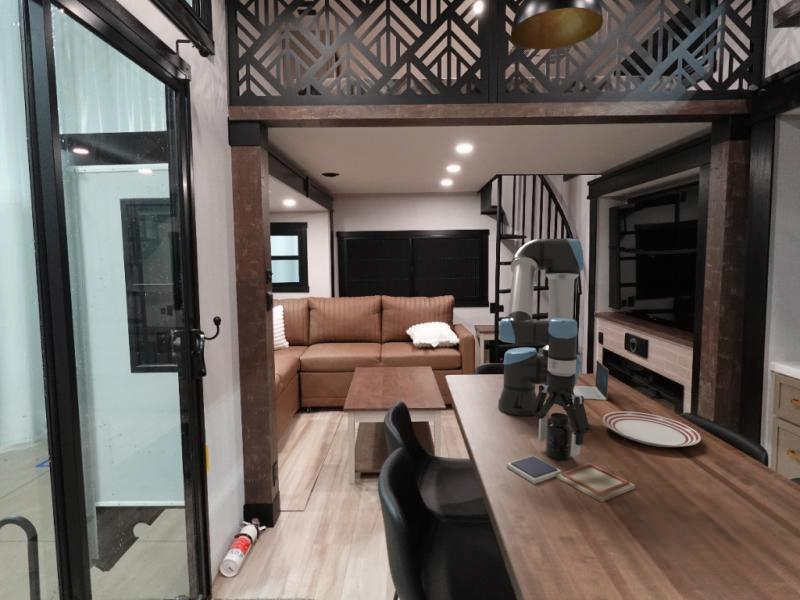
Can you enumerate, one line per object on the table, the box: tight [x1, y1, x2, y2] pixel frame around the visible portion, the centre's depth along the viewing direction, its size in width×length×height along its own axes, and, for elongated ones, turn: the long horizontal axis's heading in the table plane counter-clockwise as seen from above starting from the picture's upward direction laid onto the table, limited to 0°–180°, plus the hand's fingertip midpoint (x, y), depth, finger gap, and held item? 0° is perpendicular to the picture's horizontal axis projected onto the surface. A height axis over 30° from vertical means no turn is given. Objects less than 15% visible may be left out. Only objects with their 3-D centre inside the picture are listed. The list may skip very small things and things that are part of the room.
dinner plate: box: [602, 411, 702, 448], centre depth 137 cm, size 28×27×3 cm
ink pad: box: [506, 455, 563, 485], centre depth 113 cm, size 10×10×1 cm
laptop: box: [573, 359, 610, 401], centre depth 180 cm, size 18×12×13 cm
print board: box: [556, 462, 636, 503], centre depth 107 cm, size 13×13×1 cm
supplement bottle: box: [545, 412, 573, 461], centre depth 122 cm, size 7×7×12 cm
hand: (558, 446), depth 122 cm, fingers open, 11 cm apart
